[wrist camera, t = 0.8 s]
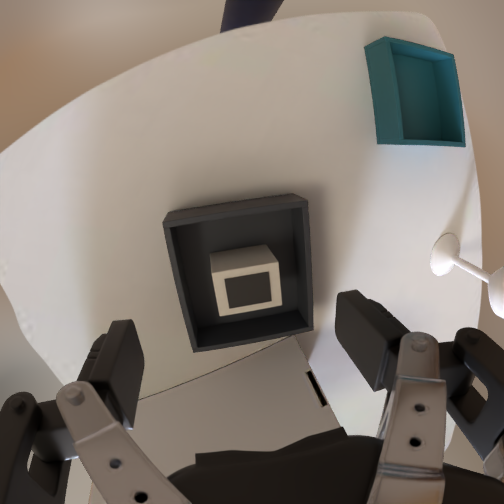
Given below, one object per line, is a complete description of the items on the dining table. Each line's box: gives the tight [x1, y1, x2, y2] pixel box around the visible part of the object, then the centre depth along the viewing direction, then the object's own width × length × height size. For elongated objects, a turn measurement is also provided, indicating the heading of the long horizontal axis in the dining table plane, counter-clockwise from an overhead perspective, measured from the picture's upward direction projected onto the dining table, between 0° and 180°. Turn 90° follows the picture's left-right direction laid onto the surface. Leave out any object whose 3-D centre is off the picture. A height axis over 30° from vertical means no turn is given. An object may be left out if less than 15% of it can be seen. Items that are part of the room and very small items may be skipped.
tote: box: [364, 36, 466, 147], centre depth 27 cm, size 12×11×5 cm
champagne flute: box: [430, 233, 504, 318], centre depth 26 cm, size 7×7×24 cm
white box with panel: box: [210, 244, 282, 316], centre depth 30 cm, size 4×6×6 cm
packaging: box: [88, 335, 341, 504], centre depth 29 cm, size 30×6×20 cm, turn 115°
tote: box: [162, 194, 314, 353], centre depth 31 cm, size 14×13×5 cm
